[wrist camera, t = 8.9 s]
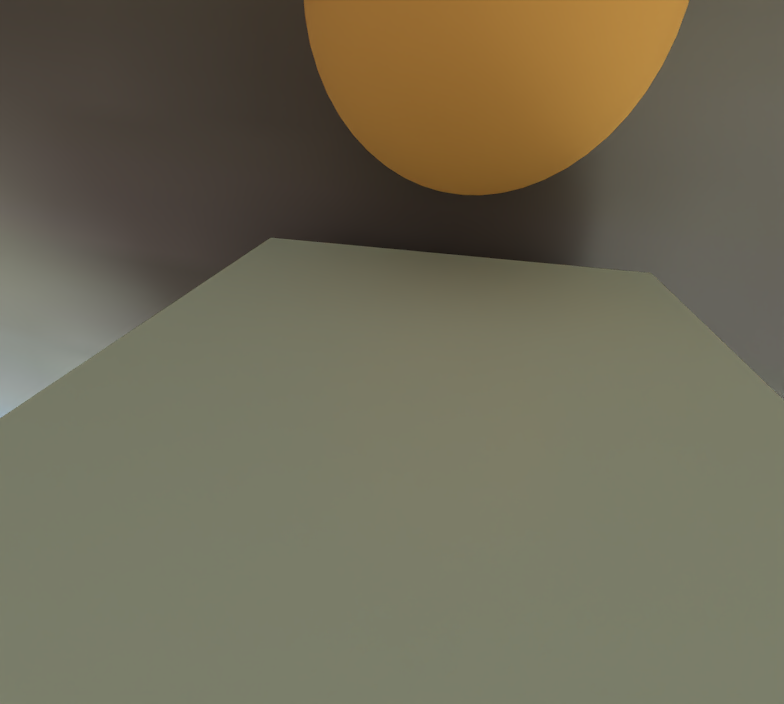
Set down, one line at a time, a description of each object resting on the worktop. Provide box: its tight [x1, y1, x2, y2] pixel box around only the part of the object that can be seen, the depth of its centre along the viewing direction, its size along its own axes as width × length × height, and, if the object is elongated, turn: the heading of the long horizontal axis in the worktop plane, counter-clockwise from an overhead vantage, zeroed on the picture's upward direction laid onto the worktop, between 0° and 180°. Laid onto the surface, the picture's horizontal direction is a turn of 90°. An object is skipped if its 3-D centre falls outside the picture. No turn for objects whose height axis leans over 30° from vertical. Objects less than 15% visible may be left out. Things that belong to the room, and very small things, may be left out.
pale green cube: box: [0, 238, 784, 704], centre depth 7 cm, size 8×8×9 cm
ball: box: [304, 0, 689, 195], centre depth 6 cm, size 5×5×5 cm
